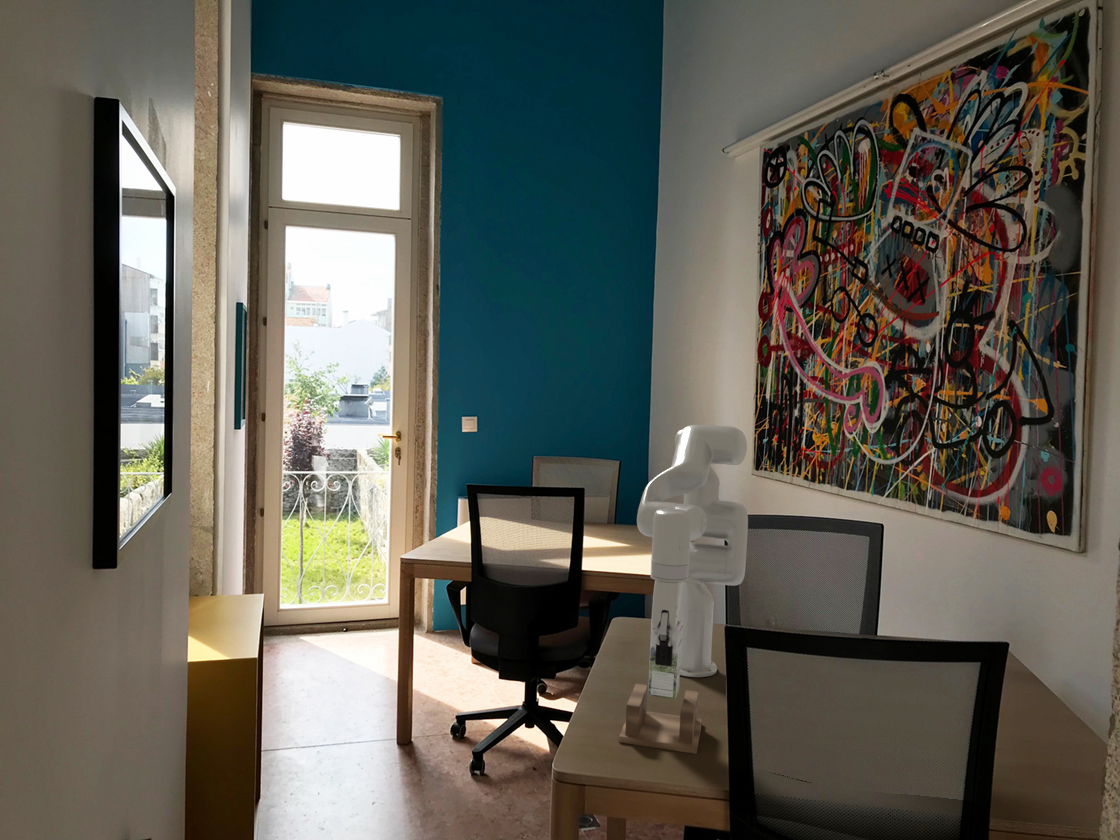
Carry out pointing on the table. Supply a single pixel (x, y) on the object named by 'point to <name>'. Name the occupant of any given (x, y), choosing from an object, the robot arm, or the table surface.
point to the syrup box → (665, 667)
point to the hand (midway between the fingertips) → (665, 658)
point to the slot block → (661, 724)
